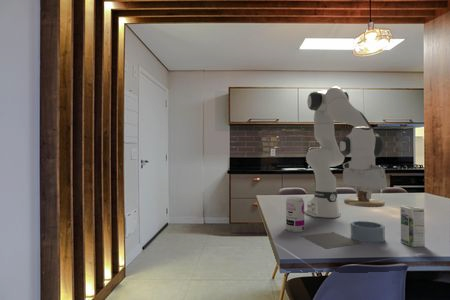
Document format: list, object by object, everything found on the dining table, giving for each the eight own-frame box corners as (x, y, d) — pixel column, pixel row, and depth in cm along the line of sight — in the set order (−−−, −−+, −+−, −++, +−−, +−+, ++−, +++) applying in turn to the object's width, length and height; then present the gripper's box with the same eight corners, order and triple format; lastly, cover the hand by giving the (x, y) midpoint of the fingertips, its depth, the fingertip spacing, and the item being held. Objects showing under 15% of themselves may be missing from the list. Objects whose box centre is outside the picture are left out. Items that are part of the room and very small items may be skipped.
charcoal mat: (300, 237, 116) (300, 235, 116) (333, 233, 121) (333, 232, 121) (325, 250, 100) (325, 248, 100) (363, 245, 105) (363, 243, 105)
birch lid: (336, 201, 118) (336, 189, 118) (364, 199, 122) (364, 188, 122) (362, 208, 104) (362, 194, 104) (393, 205, 108) (393, 192, 108)
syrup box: (400, 242, 108) (399, 205, 108) (414, 241, 108) (413, 205, 109) (411, 247, 102) (410, 208, 103) (425, 246, 103) (424, 208, 103)
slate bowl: (344, 236, 117) (344, 222, 117) (367, 233, 120) (367, 220, 120) (367, 245, 105) (366, 229, 105) (391, 241, 109) (391, 226, 109)
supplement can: (304, 229, 129) (304, 197, 129) (304, 233, 121) (303, 200, 122) (287, 227, 132) (287, 196, 132) (285, 232, 124) (285, 199, 124)
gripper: (390, 165, 104) (391, 201, 104) (351, 164, 124) (352, 194, 124) (377, 166, 102) (378, 202, 102) (340, 164, 122) (340, 195, 122)
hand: (363, 198), depth 113 cm, fingers closed on birch lid, 3 cm apart
